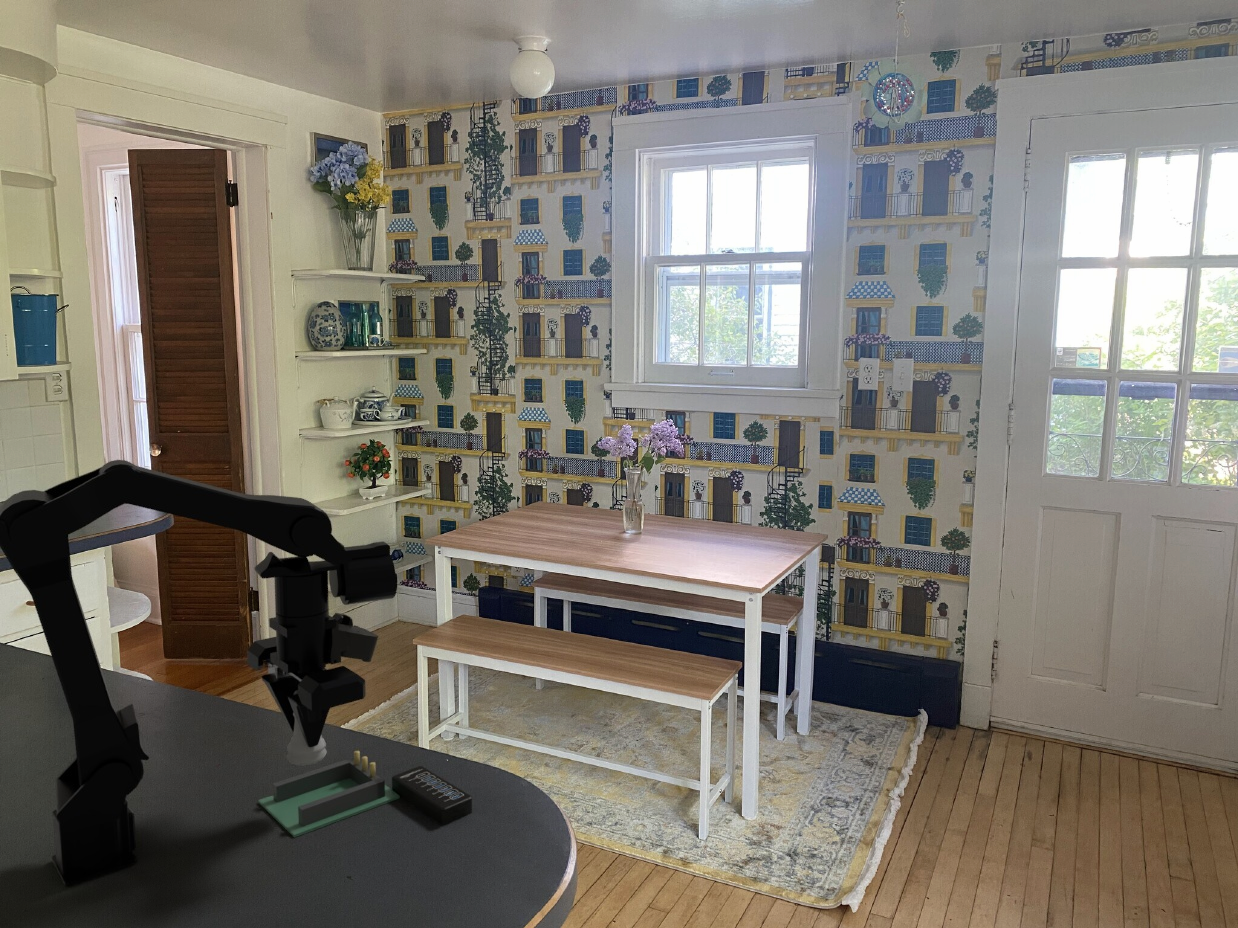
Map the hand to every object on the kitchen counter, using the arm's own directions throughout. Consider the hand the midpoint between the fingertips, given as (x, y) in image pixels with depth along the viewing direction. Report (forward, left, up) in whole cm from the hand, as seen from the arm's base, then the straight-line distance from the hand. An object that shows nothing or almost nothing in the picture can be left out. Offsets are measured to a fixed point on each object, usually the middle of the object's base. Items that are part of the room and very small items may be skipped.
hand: (305, 740), depth 105 cm
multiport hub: (+12, -8, -9) cm, 17 cm away
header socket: (+3, 0, -8) cm, 9 cm away
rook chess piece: (0, 0, -2) cm, 2 cm away
